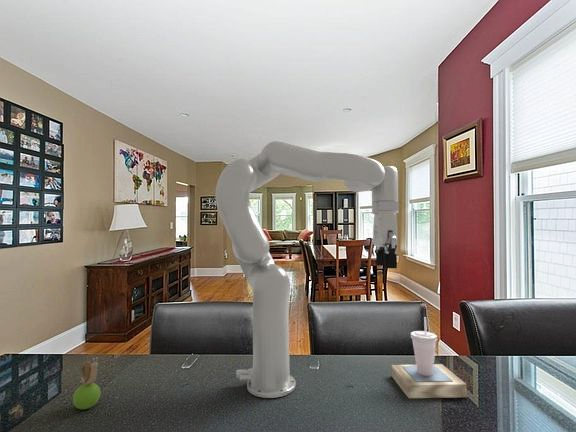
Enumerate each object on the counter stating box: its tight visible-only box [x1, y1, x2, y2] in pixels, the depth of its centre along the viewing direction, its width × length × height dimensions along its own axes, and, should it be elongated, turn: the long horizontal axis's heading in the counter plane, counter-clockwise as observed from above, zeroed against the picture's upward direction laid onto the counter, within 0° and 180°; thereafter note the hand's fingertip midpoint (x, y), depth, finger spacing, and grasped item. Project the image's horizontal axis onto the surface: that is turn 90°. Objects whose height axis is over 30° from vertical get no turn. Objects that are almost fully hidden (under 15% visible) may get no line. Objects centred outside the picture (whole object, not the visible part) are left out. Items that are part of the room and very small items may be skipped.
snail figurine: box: [72, 356, 101, 410], centre depth 73 cm, size 5×6×12 cm
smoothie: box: [410, 316, 438, 376], centre depth 82 cm, size 6×6×14 cm
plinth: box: [391, 363, 468, 399], centre depth 81 cm, size 14×12×3 cm
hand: (386, 266), depth 92 cm, fingers open, 9 cm apart
